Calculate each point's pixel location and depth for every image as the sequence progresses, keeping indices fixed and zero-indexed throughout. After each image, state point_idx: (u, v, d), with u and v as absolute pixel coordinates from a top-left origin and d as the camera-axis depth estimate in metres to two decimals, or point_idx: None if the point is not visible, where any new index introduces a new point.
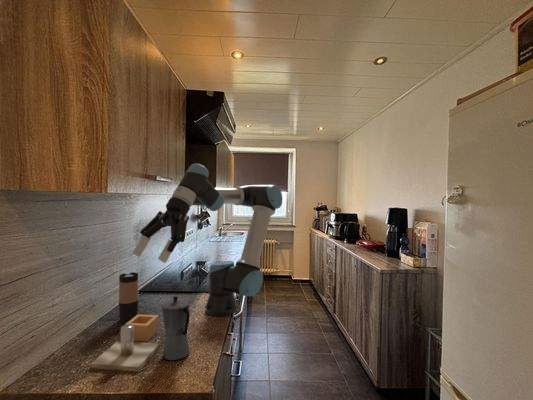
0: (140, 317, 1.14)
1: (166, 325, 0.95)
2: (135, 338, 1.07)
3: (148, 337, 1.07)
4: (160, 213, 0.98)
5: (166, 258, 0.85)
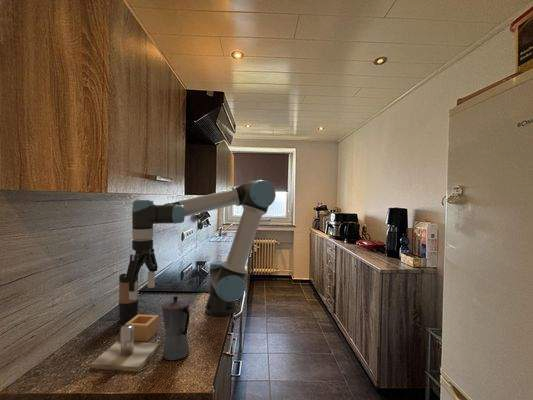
0: (140, 317, 1.14)
1: (166, 325, 0.95)
2: (135, 338, 1.07)
3: (148, 337, 1.07)
4: None
5: (134, 296, 1.03)
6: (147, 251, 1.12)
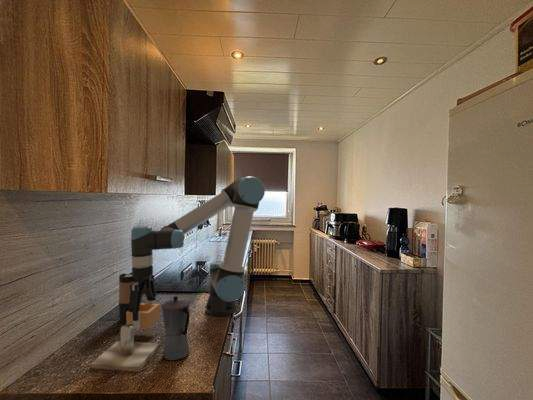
0: (141, 305, 1.14)
1: (166, 325, 0.95)
2: None
3: (150, 324, 1.07)
4: None
5: (138, 325, 1.06)
6: None
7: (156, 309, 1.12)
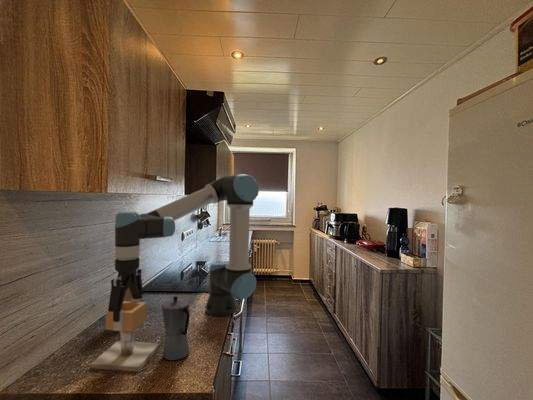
0: (125, 304, 0.99)
1: (166, 325, 0.95)
2: None
3: (133, 326, 0.92)
4: None
5: (119, 327, 0.90)
6: None
7: (142, 309, 0.97)
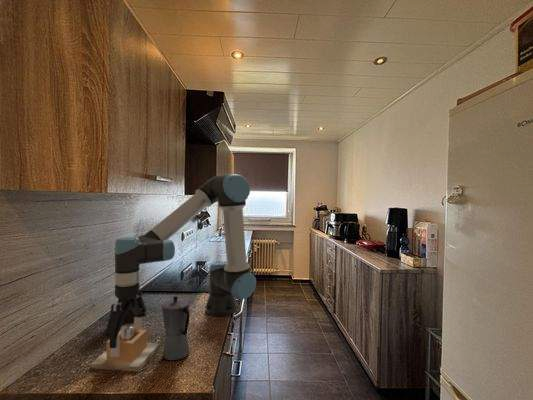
0: None
1: (166, 325, 0.95)
2: (118, 358, 0.92)
3: (134, 356, 0.92)
4: None
5: (116, 353, 0.89)
6: (133, 296, 0.97)
7: (142, 337, 0.97)
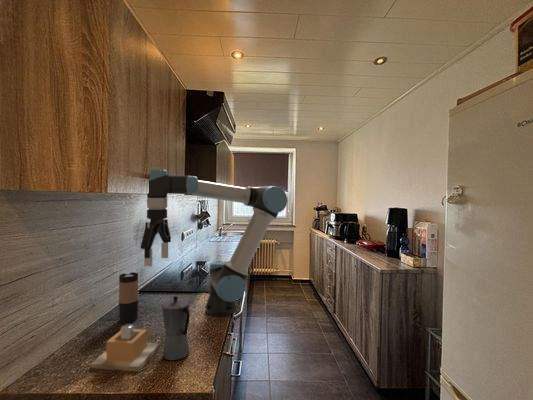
0: None
1: (166, 325, 0.95)
2: (118, 358, 0.92)
3: (134, 356, 0.92)
4: None
5: (149, 263, 1.05)
6: (161, 221, 1.13)
7: (142, 337, 0.97)
